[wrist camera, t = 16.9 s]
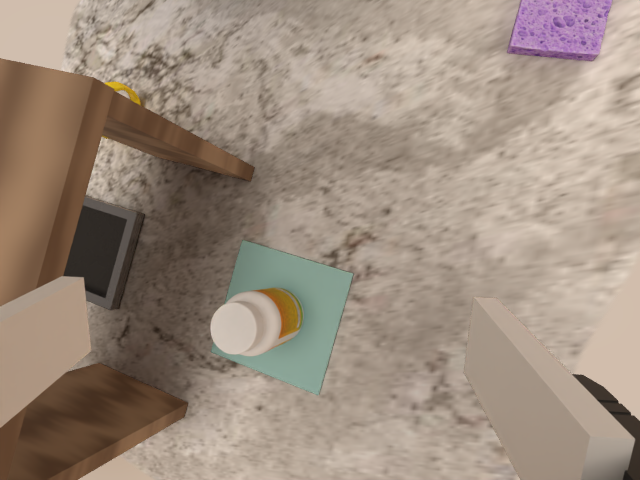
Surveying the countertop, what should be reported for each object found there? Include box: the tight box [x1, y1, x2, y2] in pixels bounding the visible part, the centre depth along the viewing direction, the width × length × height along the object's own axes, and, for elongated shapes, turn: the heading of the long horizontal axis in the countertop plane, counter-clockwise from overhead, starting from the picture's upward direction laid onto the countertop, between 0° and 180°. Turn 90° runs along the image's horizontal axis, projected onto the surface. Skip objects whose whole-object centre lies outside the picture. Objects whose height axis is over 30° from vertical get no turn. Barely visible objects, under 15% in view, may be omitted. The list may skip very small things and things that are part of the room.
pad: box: [211, 240, 354, 395], centre depth 41 cm, size 12×12×1 cm
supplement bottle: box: [210, 288, 304, 356], centre depth 37 cm, size 5×5×10 cm
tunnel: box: [0, 58, 255, 480], centre depth 35 cm, size 13×27×22 cm, turn 163°
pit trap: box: [63, 196, 144, 310], centre depth 48 cm, size 11×11×1 cm
